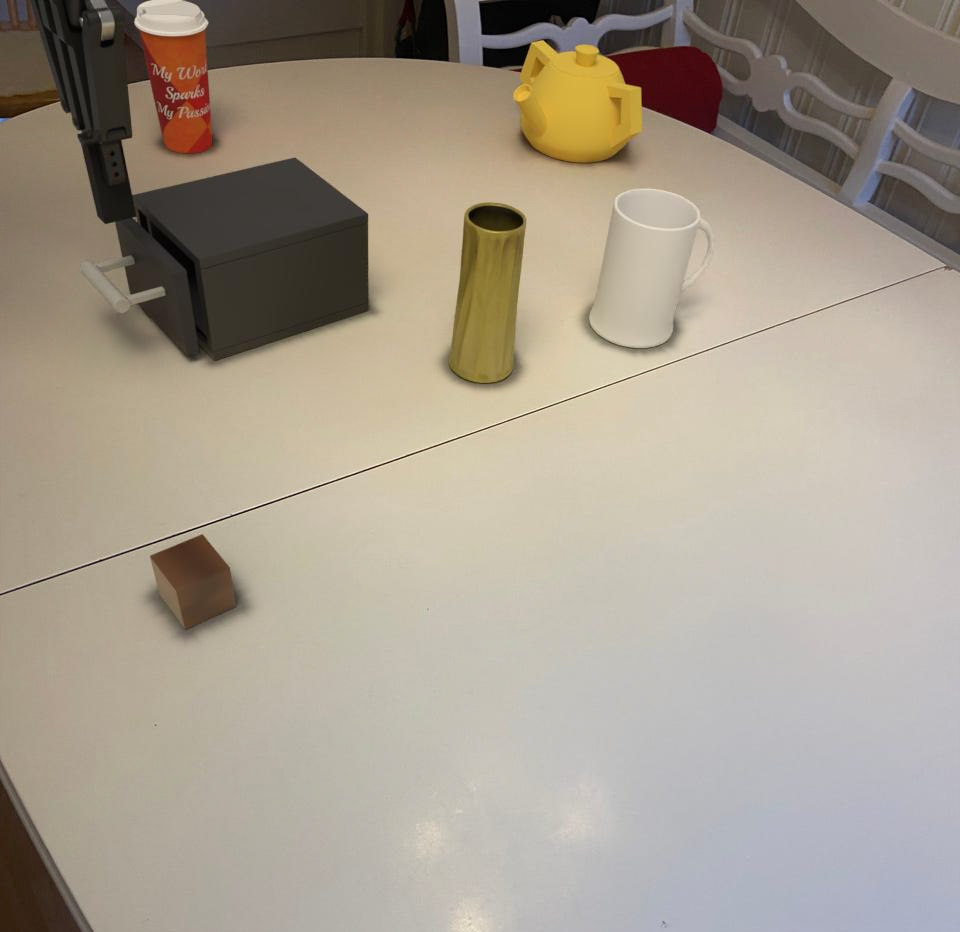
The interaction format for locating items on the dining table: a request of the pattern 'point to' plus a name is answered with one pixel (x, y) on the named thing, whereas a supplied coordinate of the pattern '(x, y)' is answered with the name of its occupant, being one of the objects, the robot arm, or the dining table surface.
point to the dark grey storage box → (265, 251)
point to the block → (193, 581)
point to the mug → (646, 266)
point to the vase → (488, 292)
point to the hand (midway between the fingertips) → (117, 216)
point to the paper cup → (177, 71)
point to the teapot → (576, 104)
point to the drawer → (154, 282)
